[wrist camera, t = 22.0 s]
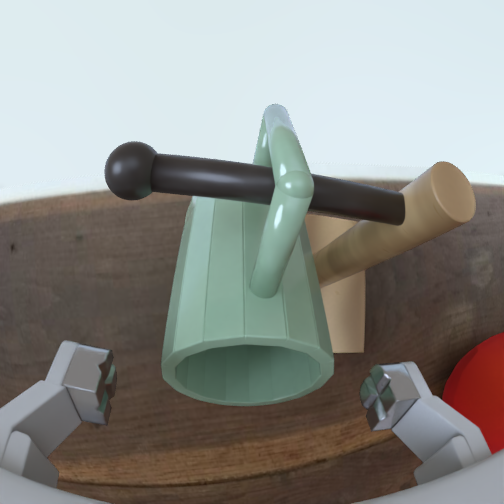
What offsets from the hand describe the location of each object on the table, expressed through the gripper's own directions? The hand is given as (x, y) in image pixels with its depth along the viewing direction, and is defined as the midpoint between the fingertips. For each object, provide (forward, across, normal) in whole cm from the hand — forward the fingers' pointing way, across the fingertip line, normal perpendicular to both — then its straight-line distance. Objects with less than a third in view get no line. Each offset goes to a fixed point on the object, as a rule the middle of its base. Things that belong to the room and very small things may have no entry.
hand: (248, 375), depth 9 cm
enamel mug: (+9, 0, -3) cm, 10 cm away
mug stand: (+13, -3, +5) cm, 14 cm away
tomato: (+6, -24, +12) cm, 27 cm away
